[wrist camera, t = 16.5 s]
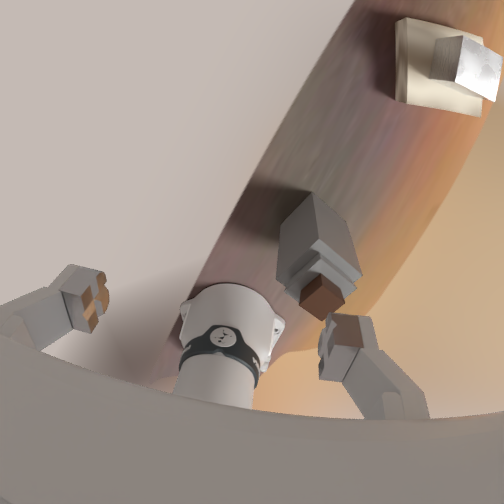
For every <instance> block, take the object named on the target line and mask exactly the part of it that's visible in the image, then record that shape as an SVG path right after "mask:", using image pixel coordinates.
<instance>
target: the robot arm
mask: <svg viewBox="0 0 504 504" xmlns="http://www.w3.org/2000/svg"><path fill="white" fill-rule="evenodd" d="M105 283H106V276H105V274H104V272H102V271H98V270H94V269H90V268H86V267H81V266H77V265H74V264H70V265H68V266H67V267H66V268H65V269H64V270H63V271H62V272H61V273H60V274H59V276H58V277H57V278H56V279H55V280H54V281H53V282H52V283H51V284H50V286H49V287H43V288H41V289H38V290H36V291H33V292H31V293H28V294H26V295H24V296H21V297H19V298H17V299H14V300H12V301H10V302H8V303H5V304H3V305H1V306H0V504H504V411H501V412H495V413H489V414H481V415H472V416H463V417H450V418H435V419H430V416H429V412H428V407H427V403H426V399H425V395H424V392H423V391H422V390H421V389H420V388H419V387H418V386H417V385H416V384H415V383H414V382H413V381H412V380H411V379H410V377H409V376H408V375H406V373H405V372H404V371H403V370H402V369H401V368H400V367H399V366H398V365H397V364H396V363H395V362H394V361H393V360H392V359H391V358H390V357H389V356H388V355H387V354H386V353H385V352H384V351H383V350H379V348H378V343H377V339H376V335H375V331H374V327H373V322H372V319H371V318H370V317H369V316H359V315H348V314H340V313H333V312H329V313H328V315H327V318H326V320H325V321H326V327H325V328H324V329H322V332H321V335H320V338H319V343H318V355H319V356H320V358H321V360H320V363H319V379H320V380H327V381H336V382H342V384H343V386H344V387H345V389H346V390H347V392H348V393H349V395H350V396H351V398H352V399H353V401H354V402H355V404H356V405H357V407H358V408H359V410H360V411H361V413H362V414H363V416H364V417H365V418H364V419H341V418H325V417H313V416H302V415H291V414H283V413H275V412H267V411H260V410H253V409H252V402H253V393H254V389H255V388H256V386H257V383H258V380H259V376H260V371H261V372H266V370H267V368H268V363H269V361H270V359H271V351H272V349H273V347H274V345H275V344H276V342H277V340H278V338H279V337H280V335H281V333H282V331H283V330H284V327H285V321H284V320H283V319H282V318H281V317H280V316H278V315H277V314H275V313H274V312H273V310H272V309H271V307H270V305H269V304H268V302H267V301H266V300H265V299H264V298H263V297H262V296H261V295H260V294H258V293H257V292H255V291H254V290H252V289H249V288H247V287H244V286H241V285H237V284H217V285H213V286H210V287H208V288H206V289H204V290H203V291H201V292H200V293H199V294H198V295H197V296H196V297H195V298H193V299H190V300H187V301H185V302H183V303H182V304H181V306H180V312H181V316H182V320H183V326H182V329H181V333H180V337H179V339H180V340H181V343H182V346H183V348H184V351H183V352H182V355H181V358H180V364H179V375H178V378H177V381H176V384H175V387H174V390H173V393H172V394H171V393H167V392H163V391H159V390H155V389H151V388H148V387H143V386H140V385H137V384H133V383H129V382H126V381H123V380H119V379H116V378H113V377H110V376H106V375H104V374H100V373H97V372H94V371H91V370H88V369H86V368H82V367H80V366H77V365H74V364H72V363H69V362H66V361H64V360H61V359H58V358H56V357H53V356H51V355H48V354H46V353H43V352H41V350H42V349H44V348H46V347H47V346H48V345H50V344H51V343H53V342H55V341H56V340H58V339H59V338H61V337H62V336H64V335H65V334H67V333H68V332H70V331H72V330H73V329H76V330H79V331H83V332H87V333H90V334H91V333H92V332H93V330H94V328H95V327H96V325H97V324H98V322H99V321H98V317H99V316H101V315H103V314H104V313H105V311H106V310H107V307H108V304H109V291H108V289H107V288H106V287H105V285H104V284H105Z"/></svg>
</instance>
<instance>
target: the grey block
mask: <svg viewBox="0 0 504 504" xmlns="http://www.w3.org/2000/svg"><path fill="white" fill-rule="evenodd" d="M502 62H503V57H501V56H500V55H498V54H497V53H495V52H493V51H491V50H490V49H488V48H486V47H485V46H483V45H481V44H479V43H477V42H476V41H474V40H472V39H470V38H468V37H466V36H464V35H460V36H452V37H445V38H439V39H436V43H435V49H434V54H433V60H432V65H431V70H430V75H429V79H430V80H433V81H435V82H438V83H440V84H442V85H445V86H447V87H449V88H451V89H454V90H456V91H458V92H460V93H462V94H464V95H468V96H472V97H477V98H481V99H485V100H489V101H492V102H495V98H496V94H497V89H498V84H499V79H500V74H501V68H502Z"/></svg>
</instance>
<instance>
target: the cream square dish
mask: <svg viewBox="0 0 504 504" xmlns="http://www.w3.org/2000/svg"><path fill="white" fill-rule="evenodd" d="M460 35H464V36H466V37H468V38H470V39H472V40H474V41H476V42H477V43H479V44H481V45H483V38H482V37H479V36H476V35H473V34H470V33H467V32H463V31H460V30H457V29H453V28H450V27H446V26H442V25H438V24H434V23H430V22H426V21H421V20H417V19H412V18H407V17H406V18H404V19H402V20H399V21H397V22H395V37H396V92H395V100H396V101H399V102H403V103H406V104H412V105H419V106H425V107H431V108H437V109H443V110H448V111H453V112H458V113H463V114H467V115H472V116H476V117H481V111H482V99H481V98H477V97H472V96H468V95H464V94H462V93H460V92H458V91H456V90H454V89H451V88H449V87H447V86H445V85H442V84H440V83H438V82H435V81H433V80H430V79H429V75H430V70H431V65H432V60H433V54H434V49H435V43H436V39H439V38H445V37H452V36H460Z"/></svg>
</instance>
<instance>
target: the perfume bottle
mask: <svg viewBox="0 0 504 504" xmlns="http://www.w3.org/2000/svg"><path fill="white" fill-rule="evenodd" d="M361 276H362V272H361V268H360V265H359V262H358V258H357V255H356V252H355V248H354V245H353V242H352V239H351V235H350V232H349V229H348V226H347V223H346V221H345V220H344V219H343V218H341V217H340V216H339V215H338V214H337V213H336V212H335V211H334V210H332V209H331V208H330V207H329V206H328V205H327V204H326V203H324V202H323V201H322V200H321V199H320V198H319V197H317V196H316V195H315V194H314V193H313V192H312V193H311V194H310V195H309V196H308V197H307V198H306V199H305V200H304V201H303V202H302V203H301V204H300V205H299V206H298V207H297V208H296V209H295V210H294V211H293V212H292V213H291V214H290V215H289V216H288V217H287V218H286V219H285V221H284V222H283V223H282V224H281V225H280V237H279V249H278V260H277V272H276V280H277V281H279V282H280V283H282V284H283V285H284V286H286V288H285V290H284V292H285V293H286V294H288V295H289V296H291V297H292V298H294V299H295V300H296V301H298V302H299V306H301V307H302V308H303V309H305V310H306V311H308V312H309V313H311V314H312V315H313V316H315V317H316V318H318V319H319V320H321V321H323V320H324V319H326V318H327V315H328V313H329V312H335V311H336V310H337V309H338V308H340V307H341V306H342V305H343V304H345V301H344V299H345V298H346V297H347V296H348V295H350V294H351V293H352V292H353V291H355V290H356V289H357V287H356V286H355V285H354V282H355V281H357V280H358V279H359V278H360V277H361Z"/></svg>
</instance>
